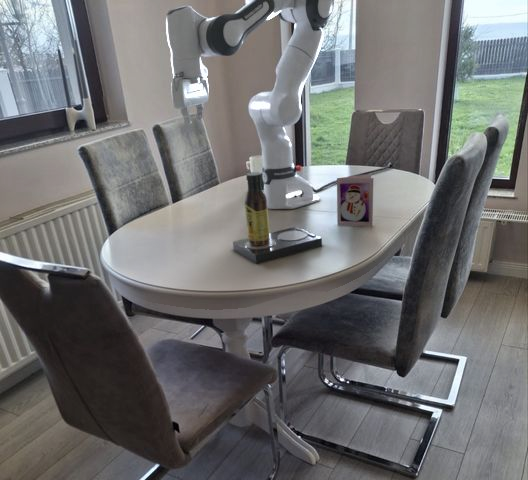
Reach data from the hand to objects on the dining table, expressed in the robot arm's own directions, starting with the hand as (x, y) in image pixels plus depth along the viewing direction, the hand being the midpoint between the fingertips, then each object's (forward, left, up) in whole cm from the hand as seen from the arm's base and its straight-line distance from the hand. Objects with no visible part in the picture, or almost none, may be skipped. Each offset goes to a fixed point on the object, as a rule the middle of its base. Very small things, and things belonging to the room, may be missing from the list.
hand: (194, 121), depth 158 cm
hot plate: (-8, +33, -34) cm, 48 cm away
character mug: (-42, -42, -34) cm, 69 cm away
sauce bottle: (-2, +33, -32) cm, 46 cm away
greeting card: (-40, +30, -34) cm, 61 cm away
